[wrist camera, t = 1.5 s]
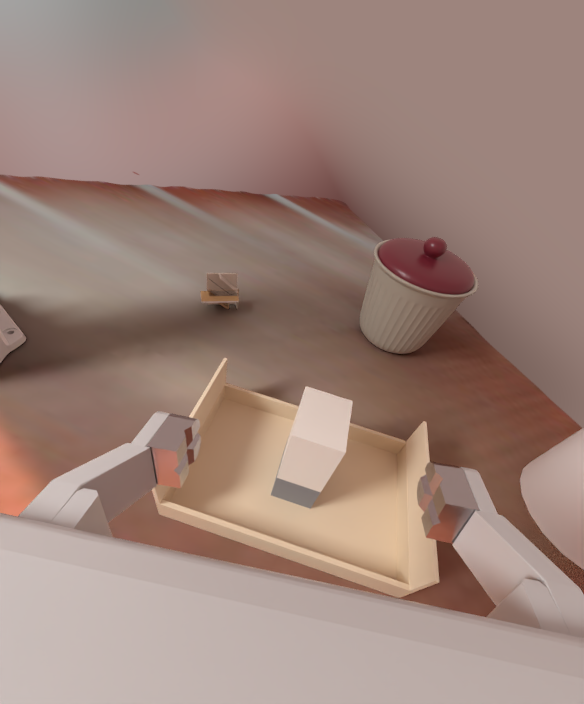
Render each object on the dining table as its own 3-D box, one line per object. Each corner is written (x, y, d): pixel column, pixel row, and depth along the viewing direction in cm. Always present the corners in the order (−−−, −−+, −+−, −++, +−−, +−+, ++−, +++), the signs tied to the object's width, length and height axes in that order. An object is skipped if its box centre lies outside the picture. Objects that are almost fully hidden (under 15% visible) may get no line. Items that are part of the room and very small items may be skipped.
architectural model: (238, 316, 62) (241, 283, 56) (202, 317, 59) (201, 283, 54) (236, 305, 64) (238, 273, 59) (200, 306, 62) (199, 272, 56)
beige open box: (399, 597, 33) (439, 582, 27) (159, 514, 35) (149, 482, 29) (398, 454, 46) (426, 422, 40) (222, 396, 47) (224, 357, 41)
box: (310, 508, 38) (345, 452, 28) (270, 495, 38) (291, 435, 28) (319, 463, 42) (352, 401, 32) (283, 451, 42) (305, 386, 32)
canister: (328, 319, 65) (362, 218, 51) (385, 301, 74) (428, 211, 60) (390, 380, 56) (454, 278, 41) (447, 351, 65) (516, 259, 51)
